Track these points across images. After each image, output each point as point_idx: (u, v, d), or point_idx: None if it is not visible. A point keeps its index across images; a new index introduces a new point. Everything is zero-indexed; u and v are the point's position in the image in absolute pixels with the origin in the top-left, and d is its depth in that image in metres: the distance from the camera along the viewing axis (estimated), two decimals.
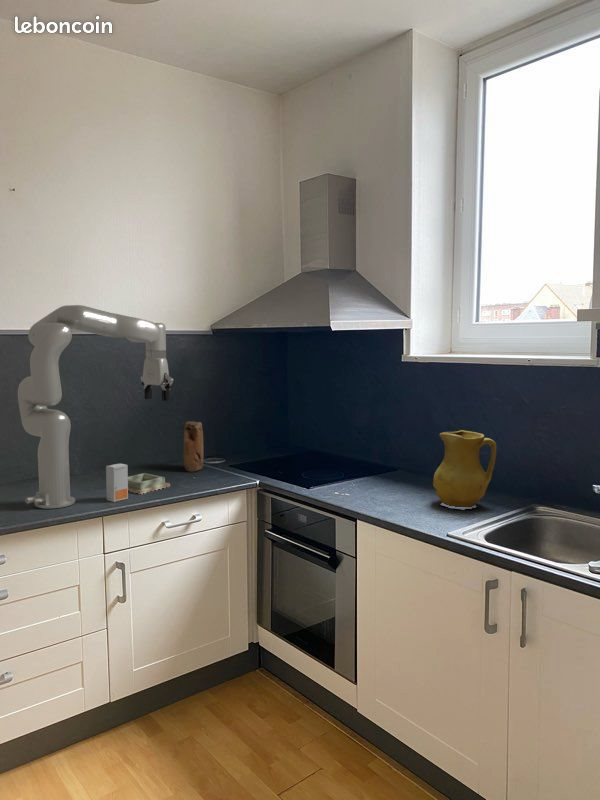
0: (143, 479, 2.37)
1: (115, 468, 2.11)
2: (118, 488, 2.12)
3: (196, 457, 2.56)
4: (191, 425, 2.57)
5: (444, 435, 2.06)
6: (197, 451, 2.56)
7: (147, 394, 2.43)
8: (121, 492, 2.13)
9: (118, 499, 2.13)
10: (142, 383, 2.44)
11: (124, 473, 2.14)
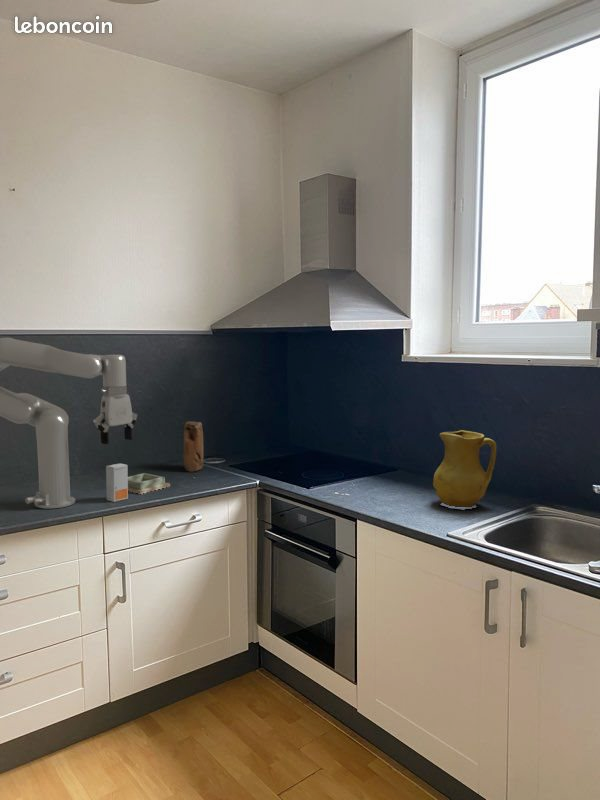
0: (143, 479, 2.37)
1: (115, 468, 2.11)
2: (118, 488, 2.12)
3: (196, 457, 2.56)
4: (191, 425, 2.57)
5: (444, 435, 2.06)
6: (197, 451, 2.56)
7: None
8: (121, 492, 2.13)
9: (118, 499, 2.13)
10: (100, 426, 2.06)
11: (124, 473, 2.14)
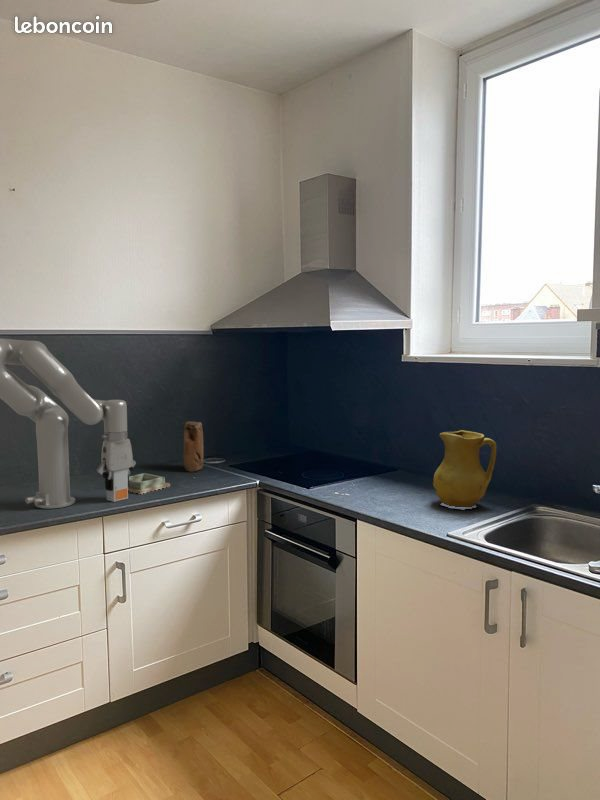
0: (143, 479, 2.37)
1: None
2: (118, 488, 2.12)
3: (196, 457, 2.56)
4: (191, 425, 2.57)
5: (444, 435, 2.06)
6: (197, 451, 2.56)
7: None
8: (121, 492, 2.13)
9: (118, 499, 2.13)
10: (105, 474, 2.09)
11: (124, 473, 2.14)
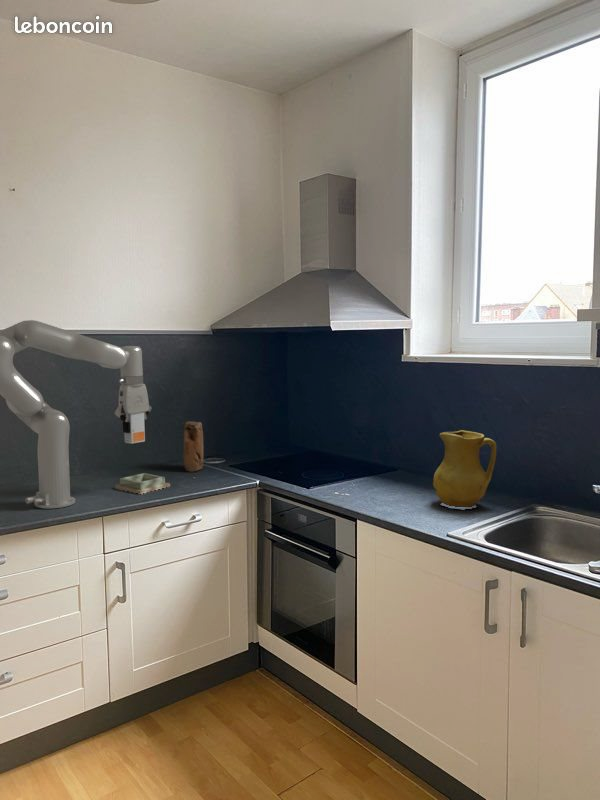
0: (143, 479, 2.37)
1: None
2: (135, 431, 2.21)
3: (196, 457, 2.56)
4: (191, 425, 2.57)
5: (444, 435, 2.06)
6: (197, 451, 2.56)
7: None
8: (138, 435, 2.22)
9: (135, 441, 2.22)
10: (122, 416, 2.18)
11: (141, 416, 2.23)
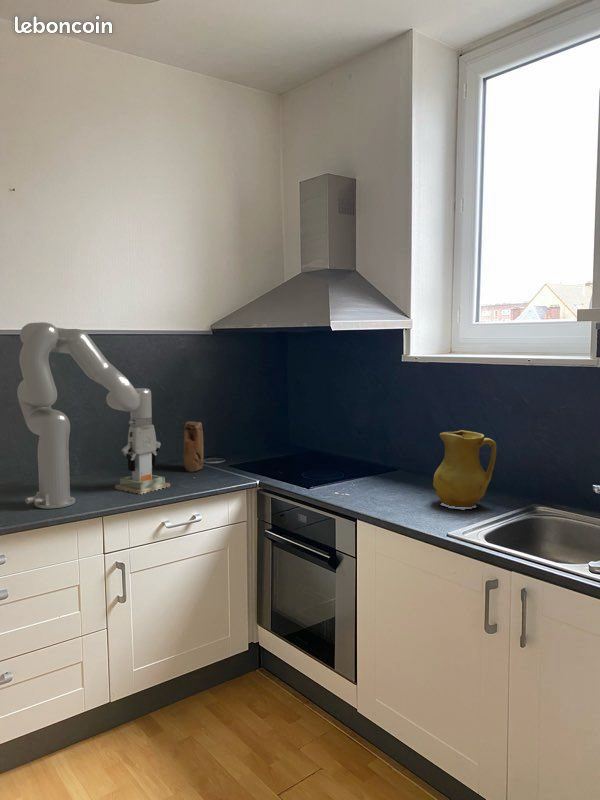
0: None
1: (141, 455, 2.27)
2: (143, 474, 2.28)
3: (196, 457, 2.56)
4: (191, 425, 2.57)
5: (444, 435, 2.06)
6: (197, 451, 2.56)
7: None
8: (146, 477, 2.30)
9: None
10: (128, 455, 2.24)
11: (148, 460, 2.30)
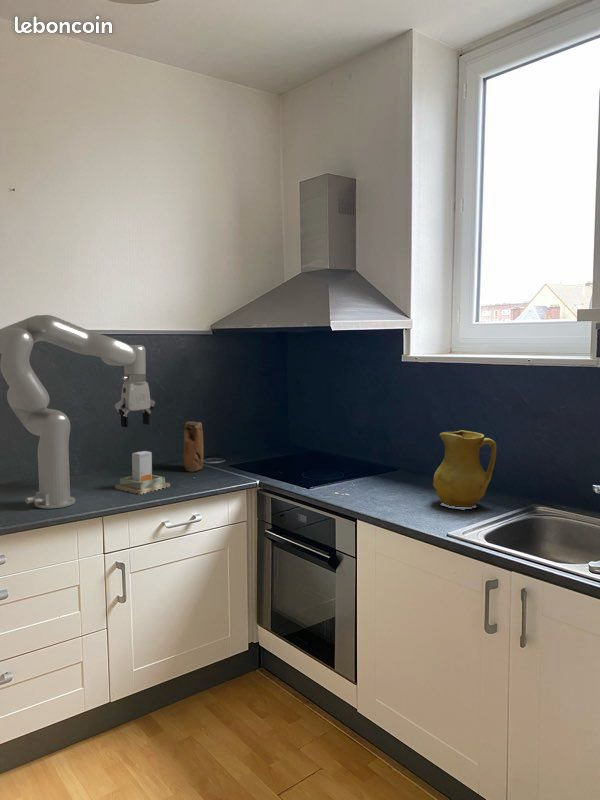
0: None
1: (141, 455, 2.27)
2: (143, 474, 2.28)
3: (196, 457, 2.56)
4: (191, 425, 2.57)
5: (444, 435, 2.06)
6: (197, 451, 2.56)
7: None
8: (146, 477, 2.30)
9: None
10: (120, 411, 2.23)
11: (148, 460, 2.30)
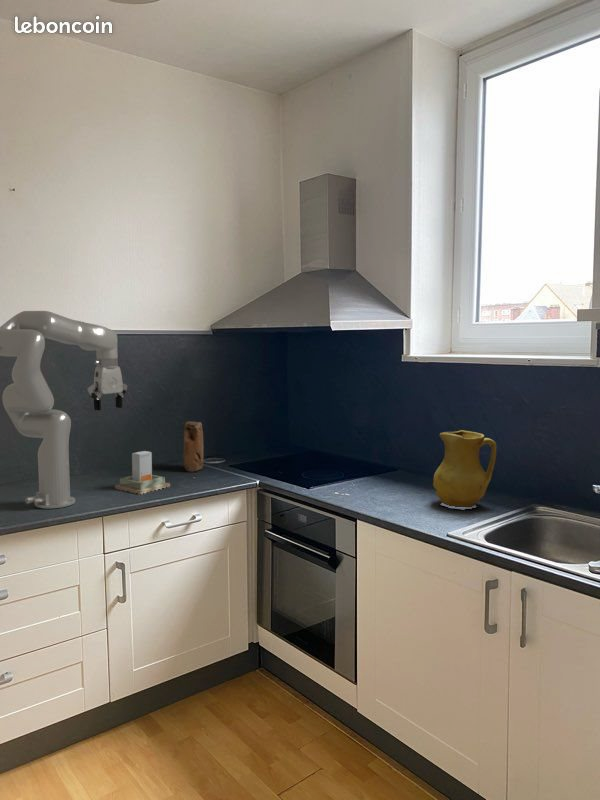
0: None
1: (141, 455, 2.27)
2: (143, 474, 2.28)
3: (196, 457, 2.56)
4: (191, 425, 2.57)
5: (444, 435, 2.06)
6: (197, 451, 2.56)
7: None
8: (146, 477, 2.30)
9: None
10: (93, 394, 2.29)
11: (148, 460, 2.30)
